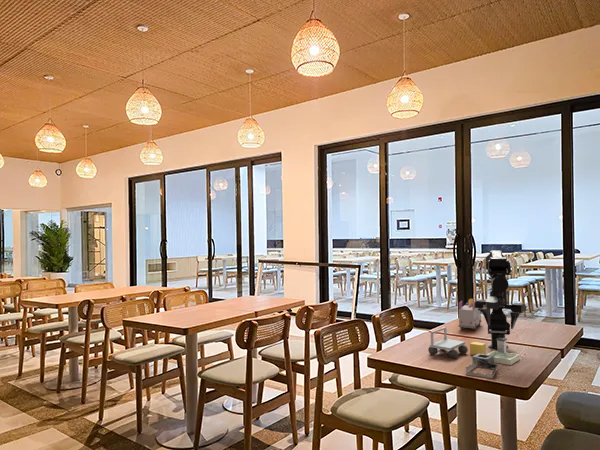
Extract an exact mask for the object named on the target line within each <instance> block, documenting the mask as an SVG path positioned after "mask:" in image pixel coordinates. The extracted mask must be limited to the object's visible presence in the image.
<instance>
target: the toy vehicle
mask: <svg viewBox="0 0 600 450" xmlns="http://www.w3.org/2000/svg"><path fill="white" fill-rule="evenodd" d="M475 302H476V300H475V299H473V298H469V299H468V301H467V302H466V303H465V304H464V305H463V300H461V301H460V302H459V303H458V328H460V329H461V330H464V329H465V328H466V329H471V330H472V331H476V330H477V327H481V323H482V312H481V311H480V310H478V308H474V303H475Z"/></svg>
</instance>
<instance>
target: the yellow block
mask: <svg viewBox="0 0 600 450" xmlns="http://www.w3.org/2000/svg"><path fill="white" fill-rule="evenodd" d="M486 350H487V345H486V343H485V342H480V341H479V342H478V341H472V342H470V343H469V354H470V355H473V356H474V355H476V354H485V355H486V354H487V351H486Z"/></svg>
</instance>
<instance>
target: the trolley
mask: <svg viewBox="0 0 600 450" xmlns="http://www.w3.org/2000/svg"><path fill="white" fill-rule="evenodd" d="M442 331H443V339H441V340H438V341H436V342H434V334H436V333H438V332H442ZM447 333H448V332H447V326H443V327H440V328H438V329H435V330H432V331H430V344H429V347H428V353H429V354H430V355H432V356H434V355H437V354H438V352H439V350H440V351H448V352H447V353H448V356H449V358H450V359H457V358H458V357H459V354H461V355H465V354H467V353H468V350H469V349H468V347H467V346H466V341H464V340H463V341H462V340H457V339H456V340H454V339H449V338H448V336H447V335H448V334H447ZM438 349H439V350H438Z"/></svg>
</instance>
